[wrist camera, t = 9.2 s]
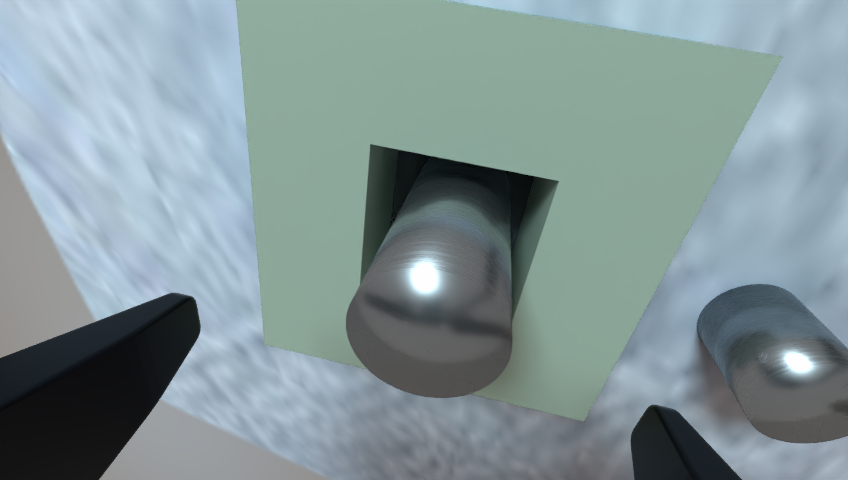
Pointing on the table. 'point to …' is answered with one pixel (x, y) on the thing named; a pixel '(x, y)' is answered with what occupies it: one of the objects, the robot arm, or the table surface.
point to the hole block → (484, 164)
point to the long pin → (440, 286)
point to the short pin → (779, 363)
